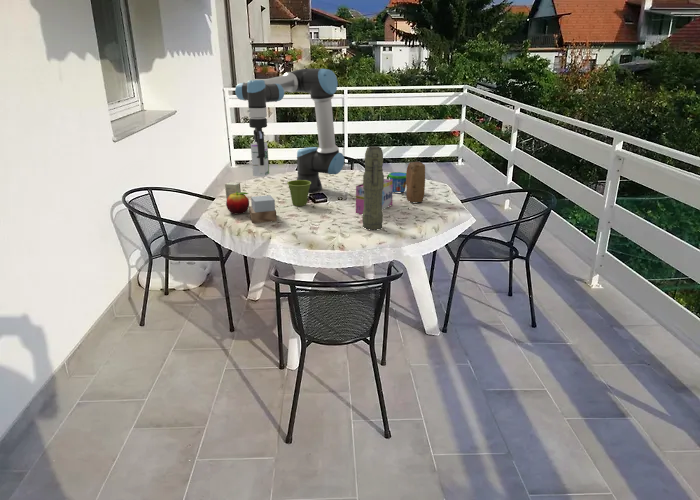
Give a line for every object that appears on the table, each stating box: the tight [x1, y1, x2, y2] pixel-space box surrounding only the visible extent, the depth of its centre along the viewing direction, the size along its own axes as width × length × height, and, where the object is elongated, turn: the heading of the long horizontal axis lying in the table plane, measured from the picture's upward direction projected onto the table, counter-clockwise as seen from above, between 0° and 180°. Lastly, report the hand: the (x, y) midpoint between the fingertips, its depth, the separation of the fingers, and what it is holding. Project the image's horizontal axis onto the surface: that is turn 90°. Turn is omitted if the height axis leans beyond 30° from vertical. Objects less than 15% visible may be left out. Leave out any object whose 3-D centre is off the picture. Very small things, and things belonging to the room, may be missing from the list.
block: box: [405, 161, 426, 203], centre depth 267 cm, size 11×8×20 cm
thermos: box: [361, 145, 385, 231], centre depth 223 cm, size 9×12×35 cm
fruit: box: [225, 191, 250, 215], centre depth 247 cm, size 11×11×10 cm
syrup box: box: [250, 141, 270, 178], centre depth 231 cm, size 6×6×14 cm
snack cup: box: [386, 171, 407, 193], centre depth 286 cm, size 16×10×10 cm
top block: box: [250, 194, 276, 212], centre depth 238 cm, size 9×9×5 cm
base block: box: [248, 205, 278, 224], centre depth 240 cm, size 11×11×5 cm
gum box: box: [355, 178, 393, 215], centre depth 254 cm, size 24×8×14 cm, turn 147°
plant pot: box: [286, 179, 311, 207], centre depth 261 cm, size 12×12×11 cm
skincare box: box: [224, 181, 242, 200], centre depth 255 cm, size 6×4×12 cm
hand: (260, 170), depth 232 cm, fingers closed on syrup box, 7 cm apart
